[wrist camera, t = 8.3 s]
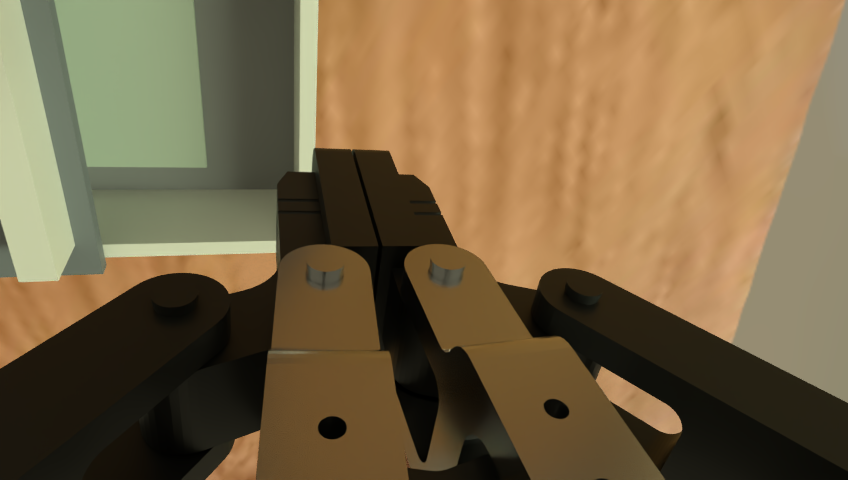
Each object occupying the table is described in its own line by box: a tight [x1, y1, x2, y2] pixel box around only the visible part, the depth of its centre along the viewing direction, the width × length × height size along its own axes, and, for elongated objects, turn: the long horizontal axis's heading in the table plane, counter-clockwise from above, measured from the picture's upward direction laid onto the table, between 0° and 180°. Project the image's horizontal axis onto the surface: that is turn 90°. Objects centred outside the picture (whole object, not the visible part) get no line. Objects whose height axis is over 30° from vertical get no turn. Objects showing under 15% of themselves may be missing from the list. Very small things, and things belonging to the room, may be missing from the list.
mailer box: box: [54, 0, 318, 257], centre depth 31 cm, size 15×20×7 cm
